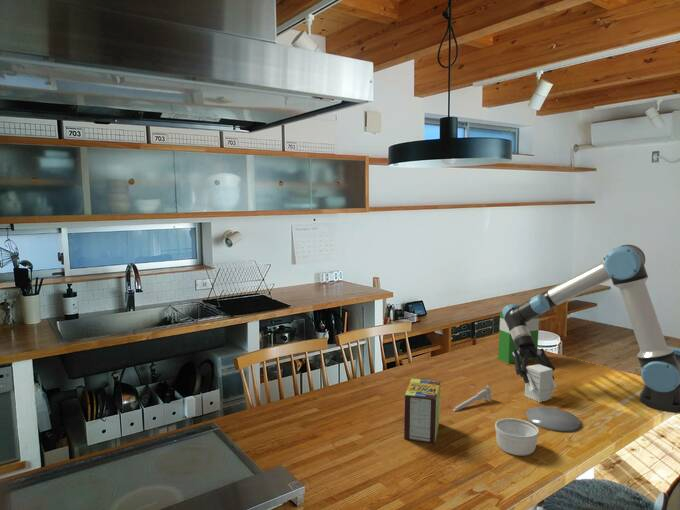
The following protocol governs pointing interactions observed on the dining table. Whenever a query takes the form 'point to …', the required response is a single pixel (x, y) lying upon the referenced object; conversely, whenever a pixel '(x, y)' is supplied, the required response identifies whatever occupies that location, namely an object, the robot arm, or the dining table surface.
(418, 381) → the protein box
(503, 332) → the green white box
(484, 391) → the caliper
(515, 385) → the dining table surface
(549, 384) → the supplement box
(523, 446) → the ramekin
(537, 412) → the disc
